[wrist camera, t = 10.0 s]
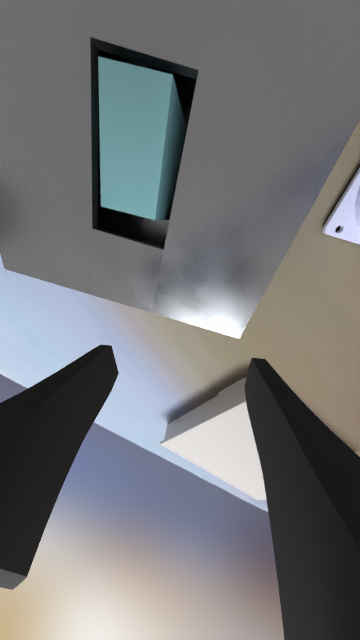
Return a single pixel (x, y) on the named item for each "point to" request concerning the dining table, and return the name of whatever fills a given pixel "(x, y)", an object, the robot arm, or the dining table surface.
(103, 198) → the teal rectangular block
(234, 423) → the book
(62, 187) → the box
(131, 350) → the dining table surface
